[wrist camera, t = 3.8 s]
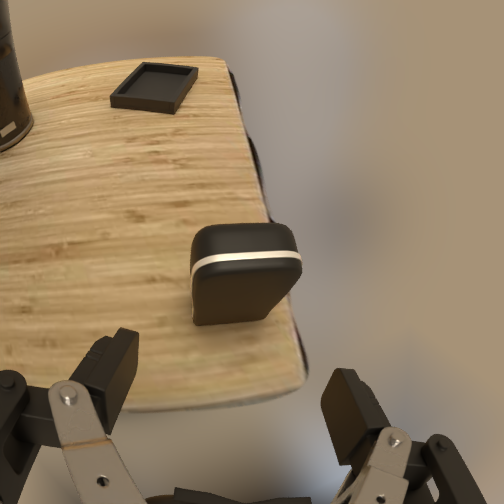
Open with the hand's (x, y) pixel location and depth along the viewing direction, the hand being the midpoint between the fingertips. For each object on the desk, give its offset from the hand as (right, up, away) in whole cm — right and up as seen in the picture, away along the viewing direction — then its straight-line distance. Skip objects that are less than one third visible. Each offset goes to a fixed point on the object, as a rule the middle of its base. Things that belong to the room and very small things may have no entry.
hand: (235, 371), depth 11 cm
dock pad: (-15, +31, +30) cm, 46 cm away
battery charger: (-2, 0, +16) cm, 16 cm away
